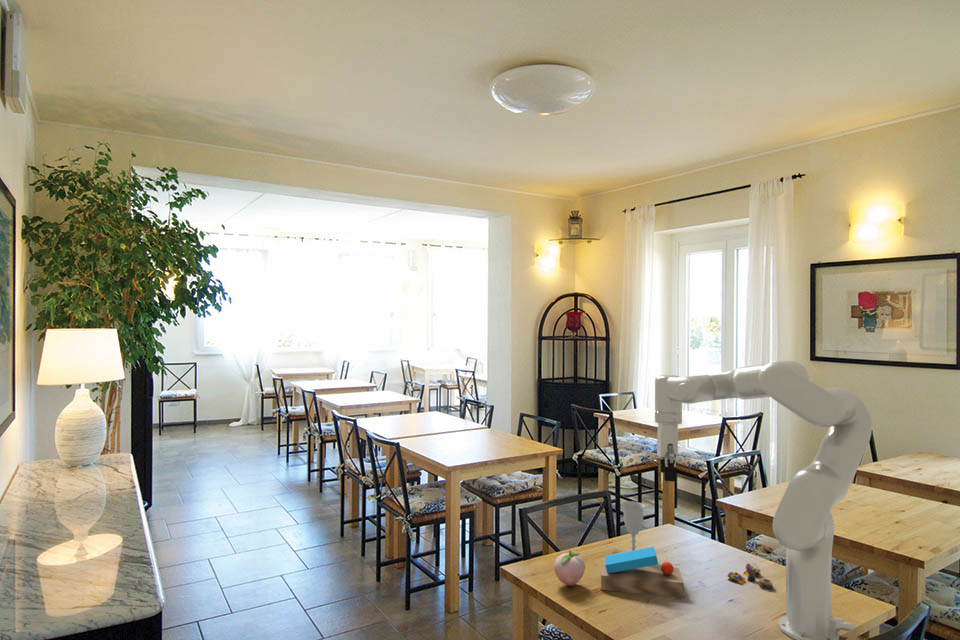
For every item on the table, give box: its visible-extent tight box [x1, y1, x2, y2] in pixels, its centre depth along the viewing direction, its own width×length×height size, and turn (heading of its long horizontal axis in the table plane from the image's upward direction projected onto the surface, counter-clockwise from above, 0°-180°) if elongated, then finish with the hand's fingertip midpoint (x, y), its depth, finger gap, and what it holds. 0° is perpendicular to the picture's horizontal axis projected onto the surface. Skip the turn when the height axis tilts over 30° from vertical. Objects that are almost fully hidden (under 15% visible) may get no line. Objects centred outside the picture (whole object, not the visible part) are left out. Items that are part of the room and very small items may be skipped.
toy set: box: [726, 563, 774, 591], centre depth 167 cm, size 12×11×5 cm
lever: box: [604, 546, 675, 575], centre depth 164 cm, size 7×7×18 cm
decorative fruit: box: [553, 550, 586, 587], centre depth 164 cm, size 9×8×10 cm
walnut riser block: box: [600, 560, 685, 598], centre depth 164 cm, size 22×10×4 cm, turn 78°
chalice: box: [621, 500, 646, 551], centre depth 180 cm, size 7×7×18 cm
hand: (668, 476), depth 167 cm, fingers open, 9 cm apart
